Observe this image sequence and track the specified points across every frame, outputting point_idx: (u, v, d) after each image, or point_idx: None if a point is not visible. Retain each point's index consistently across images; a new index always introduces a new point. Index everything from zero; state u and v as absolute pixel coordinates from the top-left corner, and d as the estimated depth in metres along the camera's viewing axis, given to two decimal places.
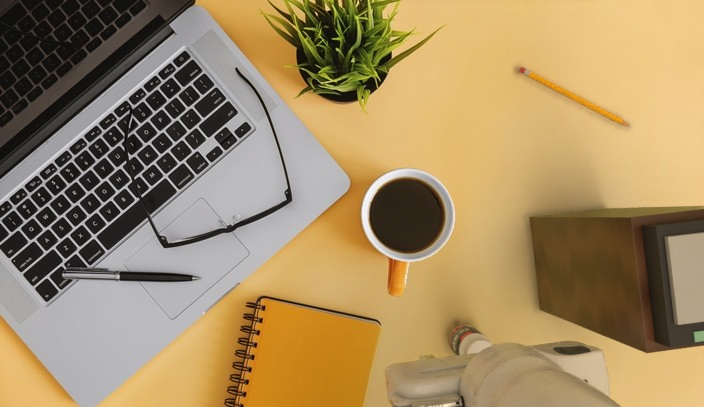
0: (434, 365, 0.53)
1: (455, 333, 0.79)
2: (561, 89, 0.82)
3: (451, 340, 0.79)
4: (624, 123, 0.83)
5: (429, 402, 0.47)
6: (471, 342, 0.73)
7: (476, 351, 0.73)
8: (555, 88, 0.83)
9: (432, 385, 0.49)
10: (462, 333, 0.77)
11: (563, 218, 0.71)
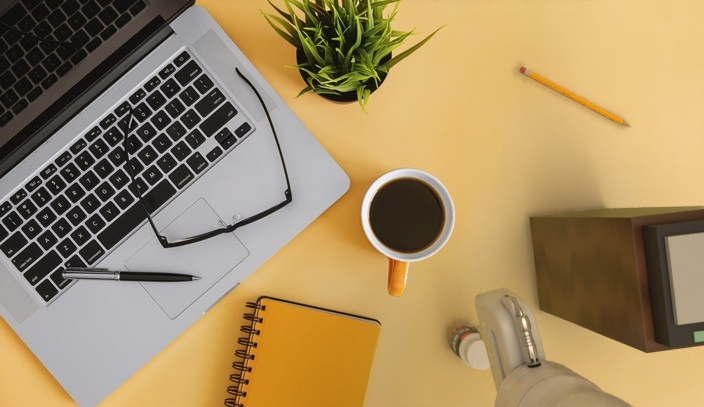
0: None
1: (455, 333, 0.79)
2: (561, 89, 0.82)
3: (451, 340, 0.79)
4: (624, 123, 0.83)
5: (530, 331, 0.48)
6: (471, 342, 0.73)
7: (476, 351, 0.73)
8: (555, 88, 0.82)
9: (536, 333, 0.50)
10: (462, 333, 0.77)
11: (563, 218, 0.71)
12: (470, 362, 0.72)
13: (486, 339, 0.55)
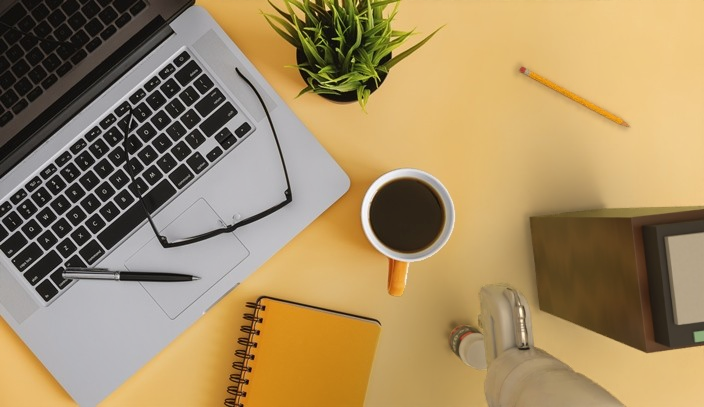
0: None
1: (455, 333, 0.79)
2: (561, 89, 0.82)
3: (451, 340, 0.79)
4: (624, 123, 0.83)
5: (525, 320, 0.57)
6: (471, 342, 0.73)
7: (476, 351, 0.73)
8: (555, 88, 0.83)
9: (529, 323, 0.59)
10: (462, 333, 0.77)
11: (563, 218, 0.71)
12: (470, 362, 0.72)
13: (485, 325, 0.64)
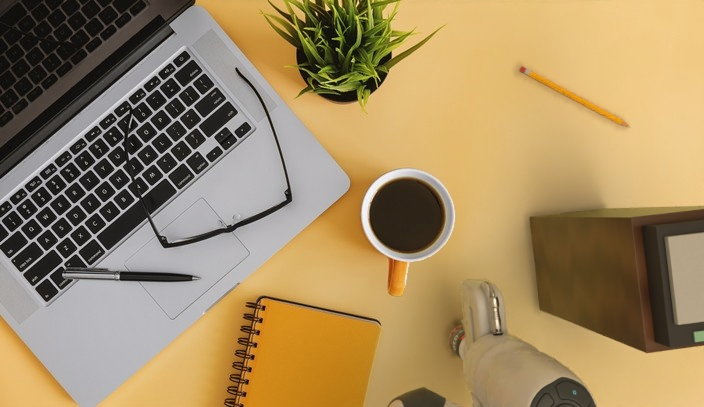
0: None
1: (455, 333, 0.79)
2: (561, 89, 0.82)
3: (451, 340, 0.79)
4: (624, 123, 0.83)
5: (498, 309, 0.65)
6: None
7: None
8: (555, 88, 0.83)
9: (503, 312, 0.66)
10: (462, 333, 0.77)
11: (563, 218, 0.71)
12: None
13: (465, 315, 0.72)
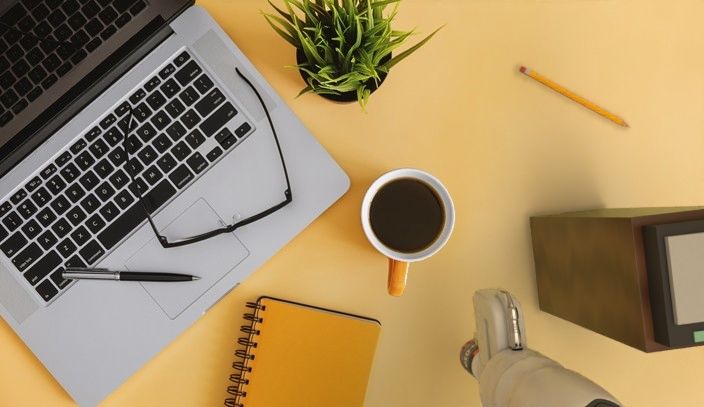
0: None
1: (466, 348, 0.72)
2: (561, 89, 0.82)
3: (462, 355, 0.73)
4: (624, 124, 0.83)
5: (518, 321, 0.59)
6: None
7: None
8: (555, 88, 0.83)
9: (522, 324, 0.60)
10: (474, 348, 0.71)
11: (563, 218, 0.71)
12: None
13: (479, 328, 0.65)
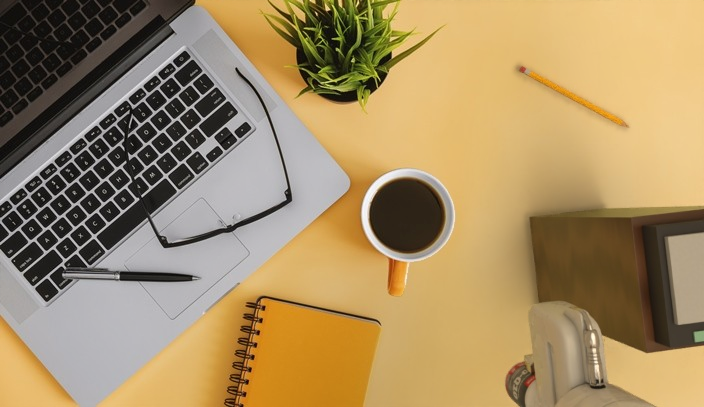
0: None
1: (515, 374, 0.58)
2: (561, 89, 0.82)
3: (509, 383, 0.58)
4: (624, 124, 0.83)
5: (598, 349, 0.44)
6: None
7: None
8: (555, 88, 0.83)
9: (602, 352, 0.45)
10: (526, 375, 0.56)
11: (563, 218, 0.71)
12: None
13: (537, 353, 0.51)
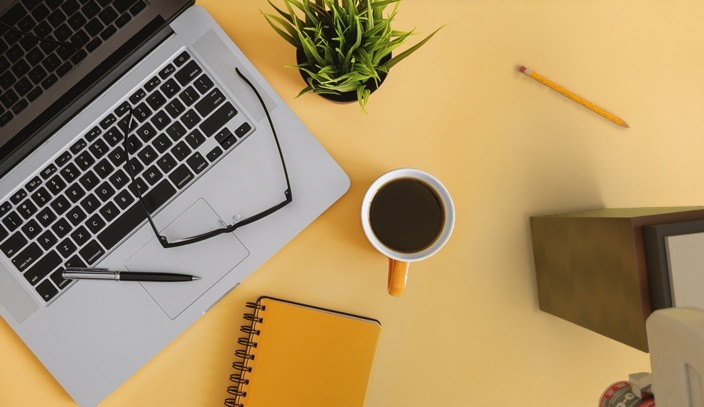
0: None
1: (615, 398, 0.45)
2: (561, 89, 0.82)
3: None
4: (624, 124, 0.83)
5: None
6: None
7: None
8: (555, 88, 0.83)
9: None
10: (634, 401, 0.43)
11: (563, 218, 0.71)
12: None
13: (663, 377, 0.38)
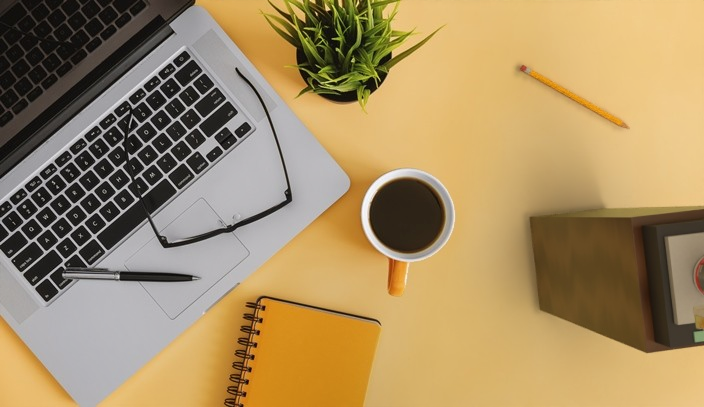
0: None
1: None
2: (562, 88, 0.82)
3: None
4: (624, 125, 0.83)
5: None
6: None
7: None
8: (556, 87, 0.82)
9: None
10: None
11: (563, 218, 0.71)
12: None
13: None
